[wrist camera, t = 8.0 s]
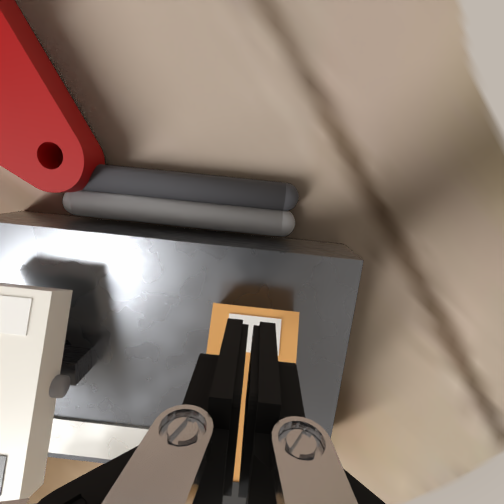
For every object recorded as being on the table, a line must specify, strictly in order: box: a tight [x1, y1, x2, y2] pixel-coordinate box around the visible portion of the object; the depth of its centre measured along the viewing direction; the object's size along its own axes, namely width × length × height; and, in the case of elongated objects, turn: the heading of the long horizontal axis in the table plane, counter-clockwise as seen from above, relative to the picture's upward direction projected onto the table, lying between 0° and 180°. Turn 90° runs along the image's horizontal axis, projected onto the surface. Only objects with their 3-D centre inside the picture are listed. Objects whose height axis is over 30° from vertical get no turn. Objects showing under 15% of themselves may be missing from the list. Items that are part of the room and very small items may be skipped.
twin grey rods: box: [63, 164, 299, 237], centre depth 18 cm, size 3×14×2 cm, turn 85°
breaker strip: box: [0, 211, 363, 463], centre depth 18 cm, size 14×20×6 cm
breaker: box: [0, 282, 73, 501], centre depth 15 cm, size 9×5×2 cm, turn 175°
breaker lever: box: [206, 303, 299, 504], centre depth 14 cm, size 9×5×2 cm, turn 175°
